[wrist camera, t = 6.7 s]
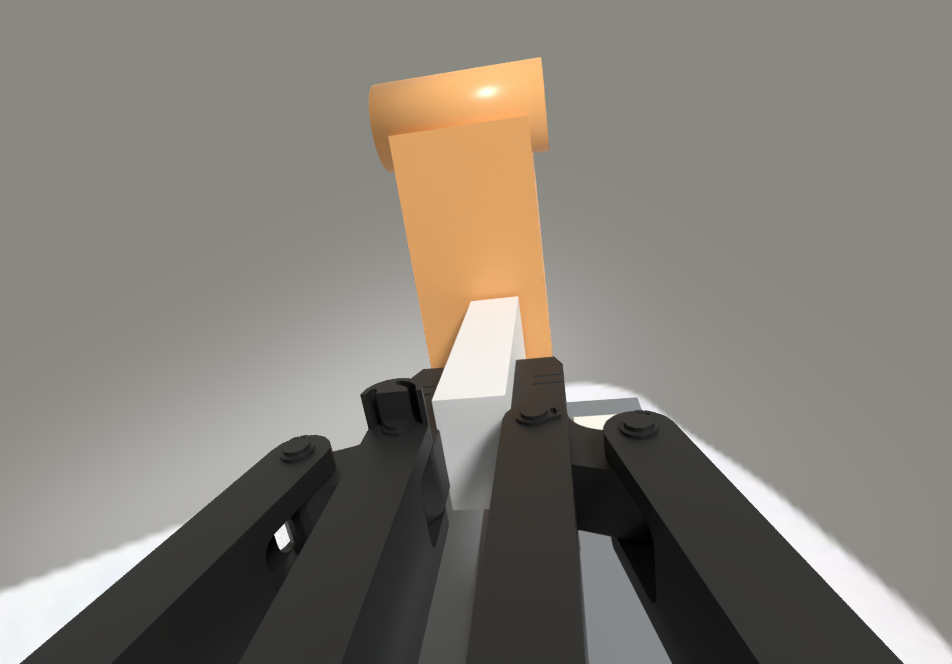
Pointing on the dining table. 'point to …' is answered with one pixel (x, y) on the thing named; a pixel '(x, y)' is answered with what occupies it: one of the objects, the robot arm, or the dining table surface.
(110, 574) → the dining table surface
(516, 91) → the handle
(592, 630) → the base
